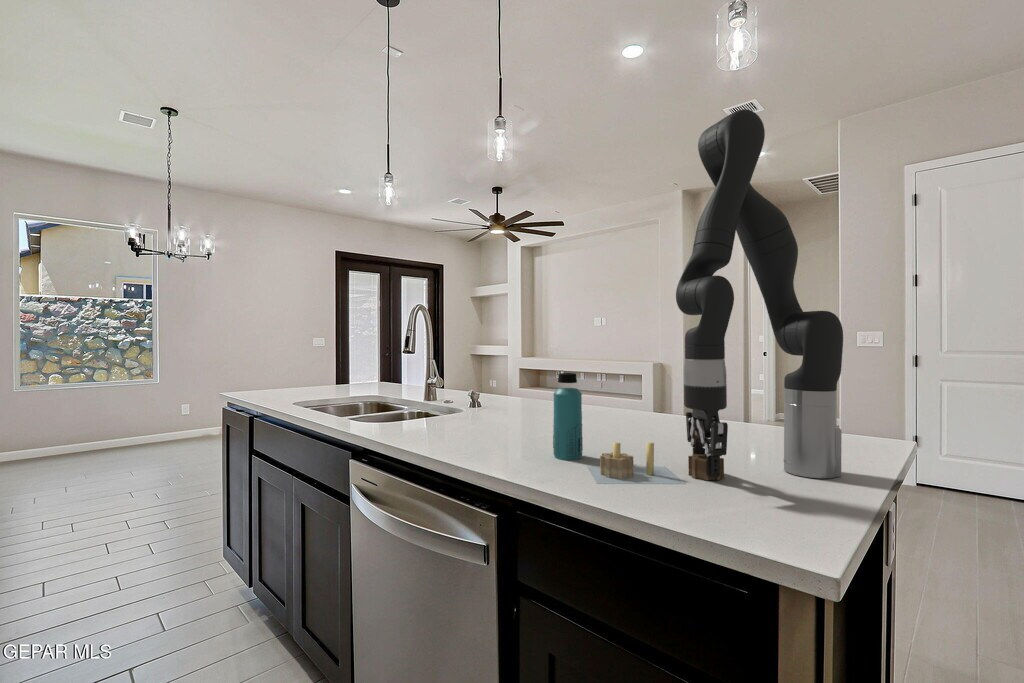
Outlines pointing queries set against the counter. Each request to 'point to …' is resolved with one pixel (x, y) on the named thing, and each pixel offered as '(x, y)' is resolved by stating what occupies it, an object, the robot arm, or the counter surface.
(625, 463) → the beech gear
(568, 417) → the beverage bottle
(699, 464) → the walnut gear
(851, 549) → the counter surface
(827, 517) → the counter surface
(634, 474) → the gear board
